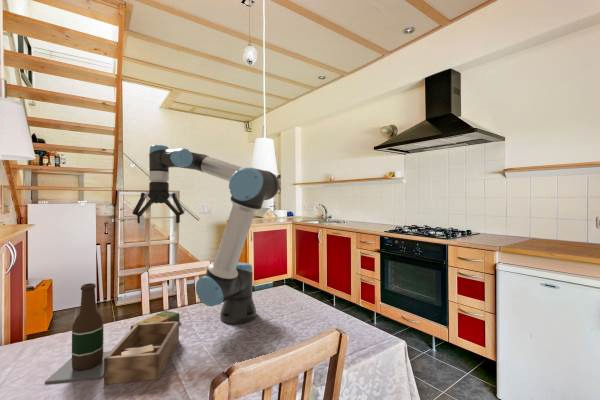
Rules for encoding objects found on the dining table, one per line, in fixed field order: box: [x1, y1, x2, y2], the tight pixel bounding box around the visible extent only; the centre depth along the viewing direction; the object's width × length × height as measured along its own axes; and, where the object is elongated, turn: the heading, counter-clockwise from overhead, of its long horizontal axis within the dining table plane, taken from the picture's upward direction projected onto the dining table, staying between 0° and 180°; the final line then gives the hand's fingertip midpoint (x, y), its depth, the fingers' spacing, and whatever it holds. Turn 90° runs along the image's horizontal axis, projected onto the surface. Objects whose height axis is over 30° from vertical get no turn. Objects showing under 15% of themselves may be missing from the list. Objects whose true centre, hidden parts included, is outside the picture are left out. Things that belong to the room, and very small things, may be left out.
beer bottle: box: [71, 282, 104, 371], centre depth 86 cm, size 8×8×24 cm
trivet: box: [44, 350, 112, 384], centre depth 86 cm, size 14×14×1 cm
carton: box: [129, 310, 180, 331], centre depth 111 cm, size 8×16×4 cm, turn 159°
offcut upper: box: [121, 344, 154, 355], centre depth 83 cm, size 8×4×3 cm, turn 124°
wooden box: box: [103, 321, 180, 385], centre depth 89 cm, size 14×22×7 cm, turn 10°
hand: (158, 231), depth 123 cm, fingers open, 13 cm apart
